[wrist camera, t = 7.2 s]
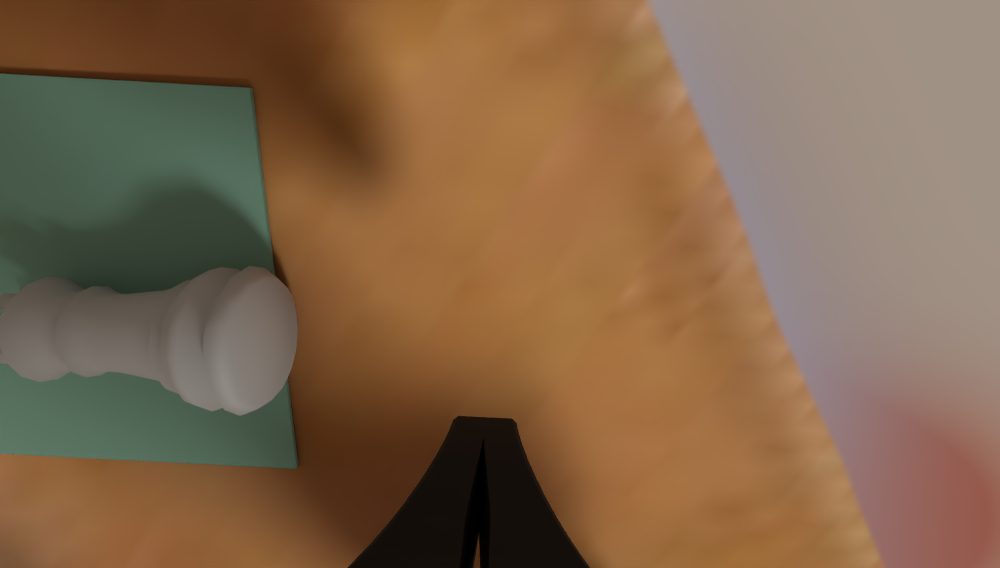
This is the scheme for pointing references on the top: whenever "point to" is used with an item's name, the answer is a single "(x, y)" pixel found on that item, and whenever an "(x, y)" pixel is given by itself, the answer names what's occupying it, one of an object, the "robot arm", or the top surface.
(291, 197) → the top surface
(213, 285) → the rook chess piece
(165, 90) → the felt mat
